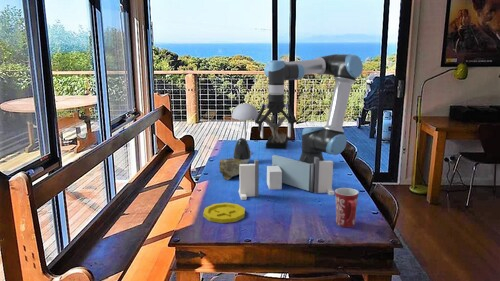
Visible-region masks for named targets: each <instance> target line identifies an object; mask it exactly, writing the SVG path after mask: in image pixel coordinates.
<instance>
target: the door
mask: <svg viewBox="0 0 500 281" xmlns="http://www.w3.org/2000/svg"><path fill="white" fill-rule="evenodd" d="M271 166H279V167H280V169H281V171H282V184H285V185H289V186H291V187H294V188H299V189H300V190H303V191H307V192H310V193H314V192H313V186H314V163H311V164H309V163H305V162H301V161H299V160H296V159H292V158H289V157H285V156H280V155H277V154H273V155H272V156H271Z"/></svg>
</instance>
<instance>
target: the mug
mask: <svg viewBox="0 0 500 281" xmlns="http://www.w3.org/2000/svg"><path fill="white" fill-rule="evenodd" d="M334 192H335V223H336V225H337V226H338V225H339V227H340V228H341V227H342V228H353V227H355V225H356V217H357V208H358V207H357V206H358V197H359V194H360V192H359V190H357V189H355V188H351V187H339V188H336V189H335V190H334Z"/></svg>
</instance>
